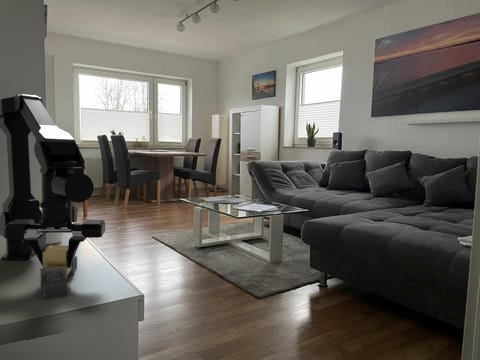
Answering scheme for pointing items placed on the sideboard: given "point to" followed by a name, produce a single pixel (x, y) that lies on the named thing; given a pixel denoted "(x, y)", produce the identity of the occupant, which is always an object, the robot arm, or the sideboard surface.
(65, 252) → the block
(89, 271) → the sideboard surface
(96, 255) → the sideboard surface
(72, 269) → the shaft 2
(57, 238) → the white cup
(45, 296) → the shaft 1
